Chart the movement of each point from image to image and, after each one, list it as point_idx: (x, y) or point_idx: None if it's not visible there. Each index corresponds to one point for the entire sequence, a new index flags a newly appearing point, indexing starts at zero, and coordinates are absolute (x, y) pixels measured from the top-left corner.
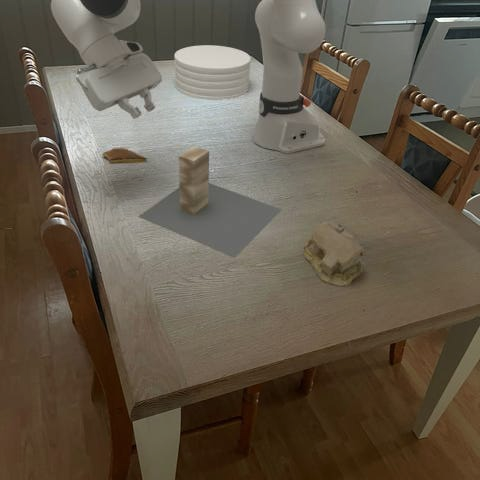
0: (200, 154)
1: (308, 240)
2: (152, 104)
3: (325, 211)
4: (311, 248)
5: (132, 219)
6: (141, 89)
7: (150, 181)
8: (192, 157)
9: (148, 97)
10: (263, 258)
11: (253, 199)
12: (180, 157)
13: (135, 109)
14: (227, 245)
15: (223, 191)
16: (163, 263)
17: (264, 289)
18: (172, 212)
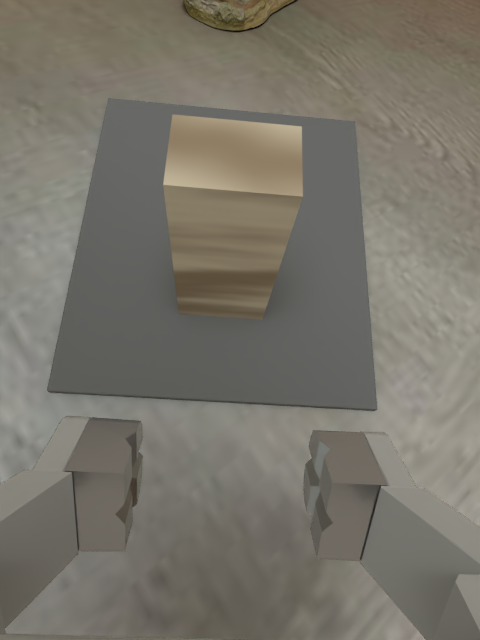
0: (228, 129)
1: (230, 4)
2: (85, 432)
3: (58, 27)
4: (246, 2)
5: (390, 423)
6: (38, 635)
7: (148, 534)
8: (275, 143)
9: (19, 518)
10: (311, 84)
11: (95, 168)
12: (301, 191)
13: (383, 468)
14: (328, 148)
15: (93, 256)
16: (471, 241)
17: (391, 58)
18: (291, 330)
